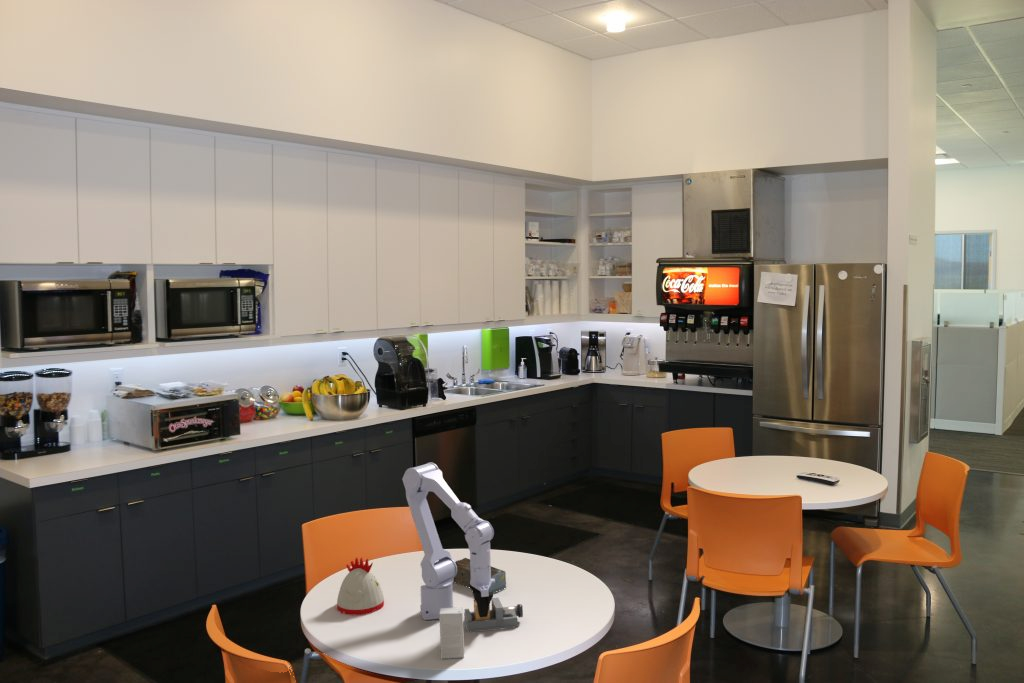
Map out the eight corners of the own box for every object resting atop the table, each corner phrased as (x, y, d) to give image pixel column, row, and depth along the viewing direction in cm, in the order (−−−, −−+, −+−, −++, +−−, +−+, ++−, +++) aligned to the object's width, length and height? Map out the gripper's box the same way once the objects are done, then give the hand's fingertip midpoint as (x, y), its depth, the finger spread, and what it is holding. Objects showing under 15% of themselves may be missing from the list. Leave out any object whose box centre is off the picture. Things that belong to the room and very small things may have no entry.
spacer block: (476, 626, 236) (475, 605, 236) (474, 620, 240) (473, 600, 240) (490, 624, 237) (489, 604, 237) (488, 619, 241) (487, 598, 241)
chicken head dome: (373, 616, 247) (372, 566, 246) (330, 613, 250) (327, 564, 248) (390, 598, 260) (388, 551, 259) (348, 596, 263) (346, 549, 262)
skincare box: (464, 650, 222) (463, 606, 222) (464, 658, 218) (462, 613, 217) (441, 651, 222) (439, 607, 221) (440, 659, 218) (439, 614, 217)
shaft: (498, 621, 238) (498, 609, 238) (496, 616, 241) (496, 604, 241) (522, 619, 239) (522, 606, 239) (520, 614, 243) (520, 602, 242)
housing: (468, 632, 234) (467, 611, 234) (464, 620, 242) (463, 600, 241) (517, 627, 237) (517, 606, 236) (512, 616, 245) (511, 595, 244)
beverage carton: (489, 596, 261) (488, 575, 260) (447, 582, 274) (447, 562, 274) (507, 589, 267) (506, 568, 266) (466, 575, 280) (465, 556, 279)
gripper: (498, 572, 231) (500, 621, 232) (490, 556, 245) (491, 601, 246) (473, 575, 230) (474, 623, 231) (466, 558, 244) (467, 603, 245)
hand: (481, 612), depth 239 cm, fingers open, 5 cm apart
